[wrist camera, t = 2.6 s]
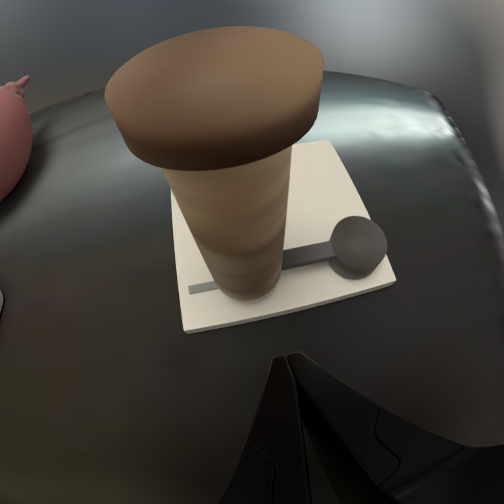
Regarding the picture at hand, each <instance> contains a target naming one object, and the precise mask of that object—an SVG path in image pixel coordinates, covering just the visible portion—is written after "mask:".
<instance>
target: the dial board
mask: <svg viewBox="0 0 504 504" xmlns="http://www.w3.org/2000/svg"><path fill="white" fill-rule="evenodd" d="M171 202H172V219H173V234H174V247H175V258H176V269H177V278H178V288H179V296H180V305H181V312H182V320H183V327H184V331H185V332H187V333H188V334H190V333H196V332H201V331H207V330H212V329H218V328H223V327H228V326H233V325H238V324H243V323H248V322H252V321H257V320H262V319H266V318H271V317H275V316H279V315H284V314H288V313H292V312H296V311H300V310H305V309H309V308H313V307H316V306H320V305H324V304H328V303H332V302H335V301H339V300H343V299H346V298H350V297H354V296H357V295H361V294H364V293H367V292H371V291H374V290H378V289H381V288H384V287H387V286H391V285H392V284H393V283H394V282H395V281H396V278H395V275H394V273H393V270H392V268H391V265H390V263H389V260H388V258H387V255H385V257H384V259H383V260H382V261H381V263H380V264H379V265H378V266H377V267H376V269H375V270H374V271H373V272H372V273H371V274H370V275H369V276H367V277H365V278H363V279H356V280H355V279H348V278H345V277H343V276H341V275H340V274H338V273H337V272H336V271H335V270H334V269H333V268H332V267H331V265H330V263H329V261H325V262H321V263H316V264H311V265H307V266H302V267H297V268H292V269H288V270H283V271H281V274H280V278H279V280H278V282H277V284H276V285H275V287H274V288H273V289H272V290H271V291H270V292H269V293H267V294H266V295H264V296H263V297H260V298H258V299H254V300H237V299H234V298H231V297H229V296H227V295H226V294H224V293H223V292H222V291H221V290H220V289H219V288H218V287H217V285H216V283H215V282H214V280H213V278H212V275H211V273H210V271H209V269H208V267H207V265H206V263H205V261H204V259H203V257H202V255H201V253H200V251H199V249H198V247H197V245H196V242H195V240H194V238H193V236H192V234H191V232H190V230H189V227H188V225H187V223H186V221H185V219H184V217H183V214H182V212H181V210H180V208H179V206H178V203H177V201H176V199H175V197H174V195H173V192H172V190H171ZM349 216H362V217H365V218H368V219H370V217H369V215H368V212H367V210H366V208H365V206H364V204H363V202H362V200H361V198H360V196H359V194H358V192H357V190H356V188H355V186H354V184H353V182H352V180H351V178H350V176H349V175H348V173H347V171H346V169H345V167H344V165H343V163H342V162H341V160H340V158H339V156H338V154H337V153H336V151H335V149H334V147H333V146H332V144H331V142H330V141H329V140H325V141H316V142H308V143H300V144H293V145H292V154H291V168H290V181H289V193H288V205H287V216H286V227H285V238H284V248H283V250H286V249H291V248H296V247H301V246H306V245H311V244H316V243H321V242H326V241H329V240H330V237H331V235H332V232H333V229H334V227H335V226H336V224H337V223H338V222H339V221H340V220H342V219H343V218H346V217H349ZM370 220H371V219H370Z"/></svg>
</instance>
